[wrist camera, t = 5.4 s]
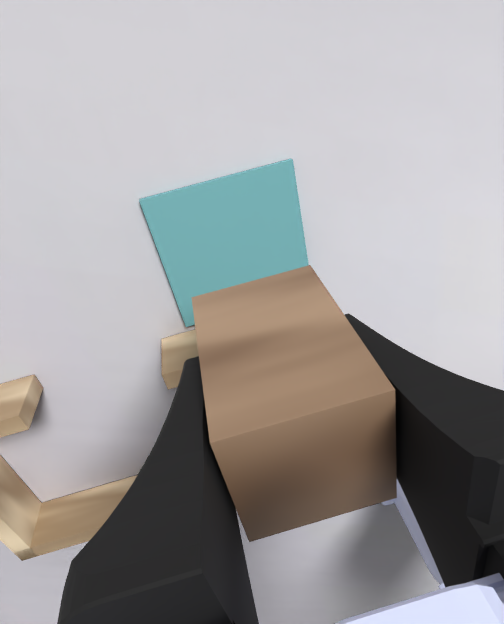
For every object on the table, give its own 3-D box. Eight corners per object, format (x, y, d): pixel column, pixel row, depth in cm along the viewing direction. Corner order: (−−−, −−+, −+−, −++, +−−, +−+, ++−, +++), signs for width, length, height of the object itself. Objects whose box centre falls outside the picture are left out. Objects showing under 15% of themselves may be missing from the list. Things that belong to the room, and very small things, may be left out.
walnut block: (322, 356, 16) (396, 497, 11) (221, 385, 16) (249, 542, 11) (310, 265, 14) (395, 390, 9) (191, 297, 14) (210, 443, 9)
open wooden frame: (290, 440, 29) (302, 477, 27) (34, 515, 28) (21, 560, 26) (259, 311, 23) (271, 343, 21) (-68, 403, 22) (-97, 448, 20)
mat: (310, 288, 23) (312, 291, 23) (185, 323, 23) (185, 327, 22) (290, 158, 19) (292, 160, 19) (139, 198, 19) (139, 201, 18)
